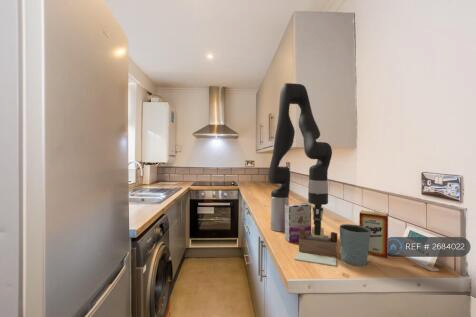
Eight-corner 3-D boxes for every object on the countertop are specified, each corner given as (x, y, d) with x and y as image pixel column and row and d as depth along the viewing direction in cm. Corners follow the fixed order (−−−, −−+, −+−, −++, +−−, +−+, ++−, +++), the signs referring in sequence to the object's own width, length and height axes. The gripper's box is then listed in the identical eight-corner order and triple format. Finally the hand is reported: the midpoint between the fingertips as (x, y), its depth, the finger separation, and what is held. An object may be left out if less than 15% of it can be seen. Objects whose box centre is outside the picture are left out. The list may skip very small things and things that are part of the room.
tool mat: (296, 253, 92) (296, 251, 92) (335, 258, 87) (335, 257, 87) (294, 259, 85) (294, 258, 85) (336, 266, 80) (336, 265, 80)
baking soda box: (359, 252, 94) (359, 211, 94) (361, 247, 99) (361, 209, 99) (387, 257, 88) (387, 215, 89) (388, 252, 94) (388, 212, 94)
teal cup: (343, 253, 92) (343, 222, 92) (372, 260, 86) (373, 227, 86) (335, 261, 84) (335, 228, 84) (367, 270, 78) (367, 233, 78)
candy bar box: (305, 237, 111) (305, 202, 111) (311, 241, 106) (311, 204, 106) (284, 239, 108) (284, 203, 108) (289, 242, 103) (289, 205, 103)
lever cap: (307, 235, 97) (307, 226, 97) (328, 238, 94) (328, 228, 94) (306, 239, 93) (307, 229, 93) (328, 241, 90) (328, 231, 90)
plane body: (300, 246, 99) (300, 225, 99) (336, 251, 94) (336, 228, 94) (298, 251, 93) (299, 228, 93) (337, 257, 88) (337, 233, 88)
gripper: (309, 189, 102) (309, 226, 102) (307, 193, 89) (306, 236, 88) (328, 190, 99) (327, 228, 99) (328, 194, 86) (327, 238, 86)
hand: (317, 232), depth 94 cm, fingers open, 8 cm apart
